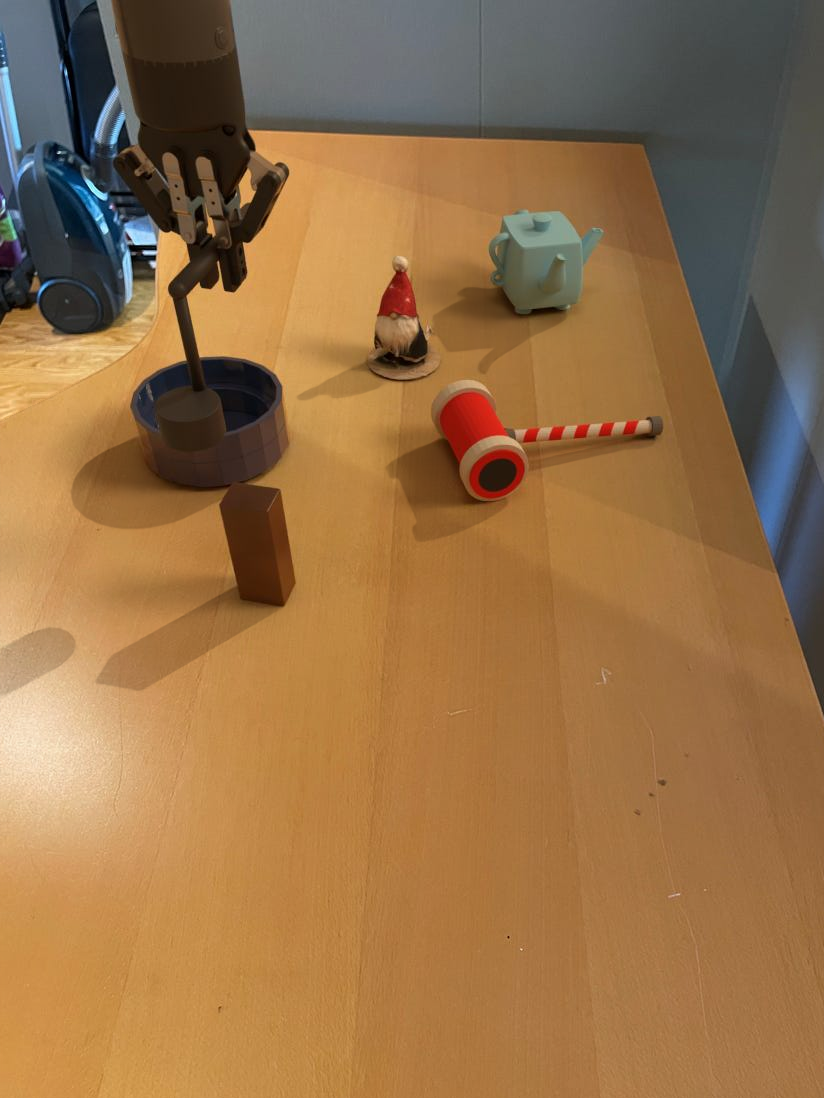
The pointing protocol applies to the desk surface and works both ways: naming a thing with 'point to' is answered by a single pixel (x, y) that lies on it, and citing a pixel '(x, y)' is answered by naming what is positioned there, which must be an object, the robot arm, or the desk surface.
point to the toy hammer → (504, 438)
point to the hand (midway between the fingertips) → (221, 285)
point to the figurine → (401, 332)
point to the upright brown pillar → (258, 542)
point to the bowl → (247, 413)
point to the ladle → (191, 370)
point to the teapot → (541, 260)
